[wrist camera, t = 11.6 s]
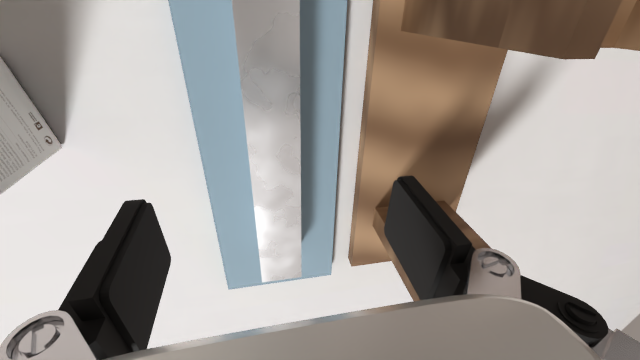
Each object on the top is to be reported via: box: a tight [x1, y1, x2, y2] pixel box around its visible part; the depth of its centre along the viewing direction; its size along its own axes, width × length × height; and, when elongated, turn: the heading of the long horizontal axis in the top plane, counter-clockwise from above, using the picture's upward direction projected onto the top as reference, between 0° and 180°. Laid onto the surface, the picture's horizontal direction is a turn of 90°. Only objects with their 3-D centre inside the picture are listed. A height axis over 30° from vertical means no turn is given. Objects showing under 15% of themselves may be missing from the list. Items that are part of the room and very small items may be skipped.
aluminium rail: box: [232, 0, 302, 283], centre depth 20 cm, size 22×3×3 cm, turn 178°
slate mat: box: [168, 0, 347, 289], centre depth 21 cm, size 30×10×1 cm, turn 179°
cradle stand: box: [348, 0, 640, 301], centre depth 19 cm, size 28×10×13 cm, turn 179°
